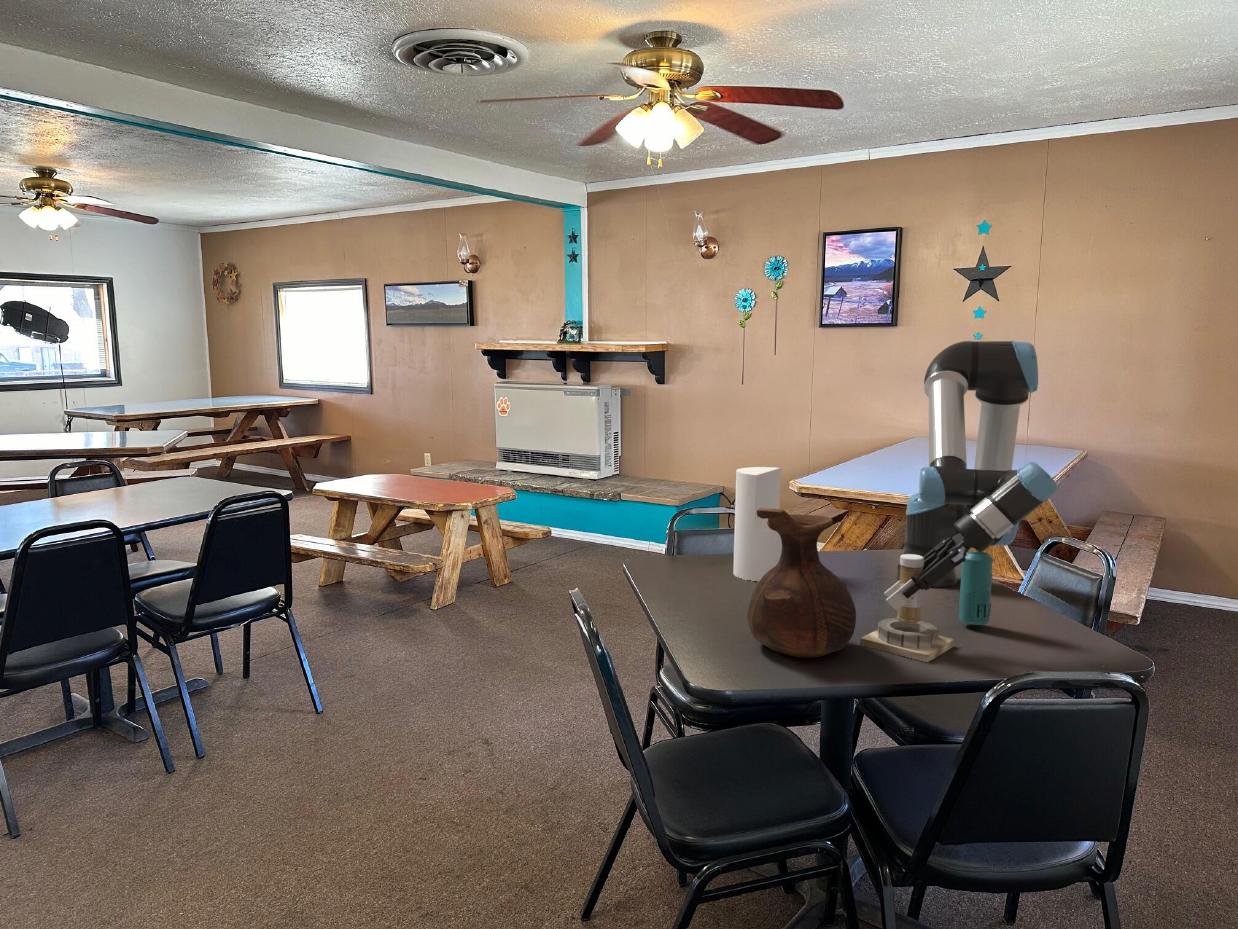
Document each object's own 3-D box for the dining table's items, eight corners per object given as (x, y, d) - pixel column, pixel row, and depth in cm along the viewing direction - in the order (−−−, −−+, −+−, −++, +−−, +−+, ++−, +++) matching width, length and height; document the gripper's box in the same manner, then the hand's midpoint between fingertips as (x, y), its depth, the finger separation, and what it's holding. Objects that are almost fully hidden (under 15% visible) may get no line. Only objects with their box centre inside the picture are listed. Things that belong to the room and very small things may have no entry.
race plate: (888, 630, 181) (889, 612, 181) (953, 646, 172) (955, 627, 171) (859, 645, 172) (860, 626, 171) (926, 662, 162) (928, 642, 162)
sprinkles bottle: (893, 621, 171) (896, 556, 169) (902, 616, 174) (905, 552, 172) (915, 625, 168) (919, 559, 166) (924, 620, 171) (927, 555, 170)
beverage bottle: (975, 633, 180) (981, 541, 177) (950, 624, 186) (955, 535, 183) (996, 629, 183) (1002, 539, 180) (970, 620, 189) (976, 533, 186)
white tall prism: (722, 576, 224) (725, 472, 220) (748, 563, 239) (751, 465, 235) (784, 586, 215) (788, 478, 211) (807, 572, 230) (811, 470, 226)
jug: (734, 631, 180) (738, 492, 176) (833, 630, 181) (839, 492, 177) (758, 669, 158) (763, 512, 154) (870, 667, 160) (878, 511, 156)
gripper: (1005, 549, 157) (907, 628, 163) (987, 531, 174) (899, 603, 179) (976, 520, 157) (879, 599, 163) (961, 504, 174) (874, 577, 180)
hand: (890, 601), depth 171 cm, fingers closed on sprinkles bottle, 4 cm apart
